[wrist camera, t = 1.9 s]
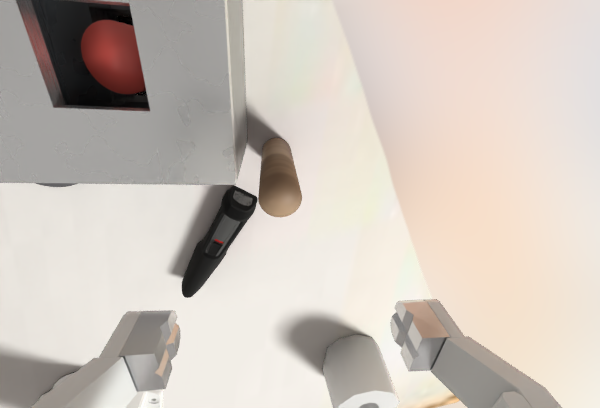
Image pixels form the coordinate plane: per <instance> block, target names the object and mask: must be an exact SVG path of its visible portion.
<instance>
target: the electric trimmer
mask: <svg viewBox="0 0 600 408" xmlns="http://www.w3.org/2000/svg"><path fill="white" fill-rule="evenodd" d="M256 203H257V197H256V196H254V195H252V194H250V193H248V192H246V191H244V190H242V189H240V188H238V187H236V186H232V187H231V188H230V189H229V190H227V192H226V193H225V194H224V196H223V199H222V204H221V207H220V209H219V211H218V213H217V215H216V217H215V219H214V222H213V224H212V225H211V227H210V229H209V231H208V233H207V234H206V236H205V237H204V239H203V240H202V241H200V242H199V243H198V244H197V246H196V248H195V250H194V253H193V255H192V258H191V260H190V263H189V265H188V268H187V270H186V272H185V275H184V278H183V281H182V293H183V296H184V297H187V298H188V297H191V296H193V295H194V294H195V293H196V292H197V291H198V290H199V289H200V288H201V287H202V286H203V284H204V283H205V282H206V280H207V279H208V278H209V277H210V275H211V274H212V273H213V271H214V270H215V269H216V267H217V266H218V265H219V263H220V262H221V261H222V259H223V258H224V256H225V255H226V251H227V250H228V248H229V246H230V245H231V243H232V242H233V241H234V239H235V238H236V236H237V235H238V233H239V232H240V230H241V229H242V228H243V226H244V225H245V223H246V222H247V220H248V219H249V218H250V217H251V215H252V214H253V213H254V210H255V207H256Z"/></svg>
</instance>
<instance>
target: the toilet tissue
mask: <svg viewBox="0 0 600 408" xmlns="http://www.w3.org/2000/svg"><path fill="white" fill-rule="evenodd" d="M322 369H323V372H324V376H325V380H326V383H327V387H328V391H329V394H330V398H331V401H332V405H333V408H397V406H398V404H399V402H400V401H399V398H398V396H397V393H396V390H395V388H394V385H393V383H392V380H391V377H390V375H389V372H388V370H387V367H386V364H385V362H384V359H383V357H382V354H381V351H380V349H379V346H378V345H377V343H376V342H375V341H374V339H373V338H372V337H368V336H364V335H359V334H356V335H351V336H347V337H343V338H339V339H338V340H337V341H335V342H334V343H333V344H331V345H330V346H329V347H328V348H327V351H326V355H325V360H324V364H323V368H322Z"/></svg>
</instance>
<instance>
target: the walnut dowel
mask: <svg viewBox="0 0 600 408" xmlns="http://www.w3.org/2000/svg"><path fill="white" fill-rule="evenodd" d="M301 200H302V195H301V190H300V186H299V182H298V178H297V174H296V170H295V166H294V162H293V157H292V153H291V149H290V146H289V144H288V143H287V142H286V141H285V140H283V139H281V138H272V139H269V140H268V141H267V142H266V143H265V144H264V146H263V149H262V161H261V173H260V186H259V204H260V206H261V208H262V209H263V210H264V211H265V212H266V213H267V214H269V215H271V216H274V217H285V216H288V215H291V214H292V213H294V212H295V211H296V210H297V209H298V208H299V206H300V204H301Z"/></svg>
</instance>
